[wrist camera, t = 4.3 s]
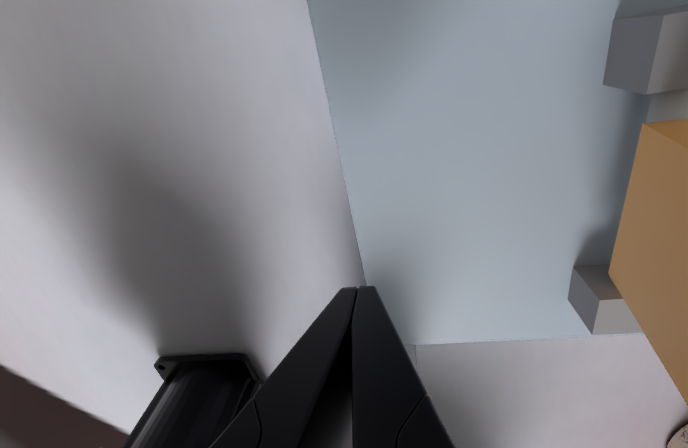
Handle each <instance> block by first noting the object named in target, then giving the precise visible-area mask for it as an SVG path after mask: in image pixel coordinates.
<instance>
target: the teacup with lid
mask: <svg viewBox="0 0 688 448" xmlns="http://www.w3.org/2000/svg"><path fill="white" fill-rule="evenodd" d="M667 448H688V424H687V425H685V426H684V427H683V428H681V429H680V430H679V431H678V432H677V433H676V434H675V435H674V436H673V437H672V438H671V440H670V441H669V443H668V446H667Z"/></svg>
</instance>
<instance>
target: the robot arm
mask: <svg viewBox="0 0 688 448" xmlns="http://www.w3.org/2000/svg"><path fill="white" fill-rule="evenodd" d="M154 367H155V369H156V370H157V371H158V373H159V374H160V376H161V377H162V379H163V380H164V382H163V384H162V386H161V387H160V389H159V390H158V392H157V393H156V395H155V396H154V398H153V400H152V401H151V403H150V404H149V406H148V407H147V409H146V411H145V412H144V414H143V415H142V417H141V418H140V420H139V421H138V423H137V425H136V426H135V428H134V429H133V431H132V432H131V434H130V435H129V437H128V439H127V440H126V442H125V443H124V445H123V446H122V448H456V447H455V445H454V444H453V442H452V440H451V439H450V437H449V435H448V433H447V431H446V429H445V427H444V425H443V423H442V422H441V420H440V418H439V416H438V414H437V412H436V410H435V408H434V406H433V404H432V402H431V400H430V398H429V396H427V392H426V390H425V388H424V386H423V384H422V382H421V380H420V377H419V375H418V373H417V371H416V369H415V367H414V365H413V363H412V361H411V359H410V357H409V355H408V353H407V351H406V349H405V347H404V345H403V343H402V340H401V338H400V336H399V334H398V332H397V330H396V328H395V326H394V324H393V322H392V320H391V318H390V316H389V314H388V312H387V310H386V308H385V306H384V303H383V301H382V299H381V297H380V295H379V293H378V291H377V289H376V287H375V286H373V285H371V286H360V287H359V288H357V287H347V288H342V289H340V290H339V292H338V293H337V294H336V295H335V296H334V298H333V299H332V300H331V301H330V303H329V304H328V305H327V306H326V307H325V309H324V310H323V311H322V312H321V314H320V315H319V316H318V317H317V319H316V320H315V321H314V322H313V323H312V325H311V326H310V327H309V328H308V330H307V331H306V332H305V333H304V334H303V336H302V337H301V338H300V339H299V341H298V342H297V343H296V344H295V345H294V347H293V348H292V349H291V350H290V352H289V353H288V354H287V355H286V357H285V358H284V359H283V360H282V361H281V363H280V364H279V365H278V366H277V368H276V369H275V370H274V371H273V372H272V374H271V375H270V376H269V377H268V379H267V380H266V381H265V382H264V384H263V385H261V383H260V381H259V379H258V377H257V375H256V373H255V371H254V369H253V367H252V365H251V363H250V361H249V359H248V358H247V356H245V355H243V354H222V355H200V356H178V357H160V358H159V359H158V360H157V361H156V363H155V364H154ZM99 448H101V447H99Z"/></svg>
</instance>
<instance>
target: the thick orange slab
mask: <svg viewBox="0 0 688 448" xmlns="http://www.w3.org/2000/svg"><path fill="white" fill-rule="evenodd" d="M608 274H609V276H610V277H611V279H612V281H613V282H614V284H615V286H616V287H617V289H618V291H619V292H620V294H621V296H622V297H623V299H624V301H625V302H626V304H627V306H628V307H629V309H630V311H631V312H632V314H633V316H634V317H635V319H636V320H637V322H638V324H639V325H640V327H641V329H642V330H643V332H644V334H645V335H646V337H647V339H648V340H649V342H650V344H651V345H652V347H653V349H654V350H655V352H656V354H657V355H658V357H659V359H660V360H661V362H662V364H663V365H664V367H665V369H666V370H667V372H668V374H669V375H670V377H671V379H672V380H673V382H674V384H675V385H676V387H677V388H678V390H679V392H680V393H681V395H682V397H683V398H684V400H685V402H686V403H687V405H688V119H680V120H670V121H661V122H651V123H642V128H641V132H640V136H639V141H638V145H637V150H636V154H635V158H634V163H633V167H632V171H631V176H630V180H629V184H628V189H627V193H626V198H625V202H624V206H623V211H622V215H621V219H620V224H619V228H618V232H617V237H616V241H615V246H614V250H613V254H612V259H611V263H610V267H609V272H608Z"/></svg>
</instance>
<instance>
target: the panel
mask: <svg viewBox="0 0 688 448" xmlns="http://www.w3.org/2000/svg"><path fill="white" fill-rule="evenodd" d="M307 3H308V8H309V13H310V18H311V23H312V27H313V32H314V37H315V42H316V47H317V51H318V56H319V61H320V66H321V71H322V75H323V80H324V85H325V90H326V94H327V99H328V104H329V109H330V114H331V118H332V123H333V128H334V133H335V138H336V142H337V147H338V152H339V157H340V162H341V166H342V171H343V176H344V181H345V186H346V190H347V195H348V200H349V205H350V210H351V214H352V219H353V224H354V229H355V234H356V238H357V243H358V248H359V253H360V258H361V262H362V267H363V272H364V277H365V281H366V286H371V285H373V286H375V287H376V289H377V291H378V293H379V295H380V297H381V299H382V301H383V303H384V306H385V308H386V310H387V312H388V314H389V316H390V318H391V320H392V322H393V324H394V326H395V328H396V330H397V332H398V334H399V336H400V338H401V340H402V343H403V345H426V344H448V343H470V342H491V341H513V340H535V339H557V338H579V337H601V336H622V335H644V332H643V330H642V329H641V327H640V325H639V324H638V322H637V320H636V319H635V317H634V316H633V314H632V312H631V311H630V309H629V307H628V306H627V304H626V302H625V301H624V299H623V297H622V296H621V294H620V292H619V291H618V289H617V287H616V286H615V284H614V282H613V281H612V279H611V277H610V276H609V274H608V272H609V267H610V263H611V259H612V254H613V250H614V246H615V241H616V237H617V232H618V228H619V224H620V219H621V215H622V211H623V206H624V202H625V198H626V193H627V189H628V184H629V180H630V176H631V171H632V167H633V163H634V158H635V154H636V150H637V145H638V141H639V136H640V132H641V128H642V123H651V122H661V121H670V120H680V119H688V0H307Z"/></svg>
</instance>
